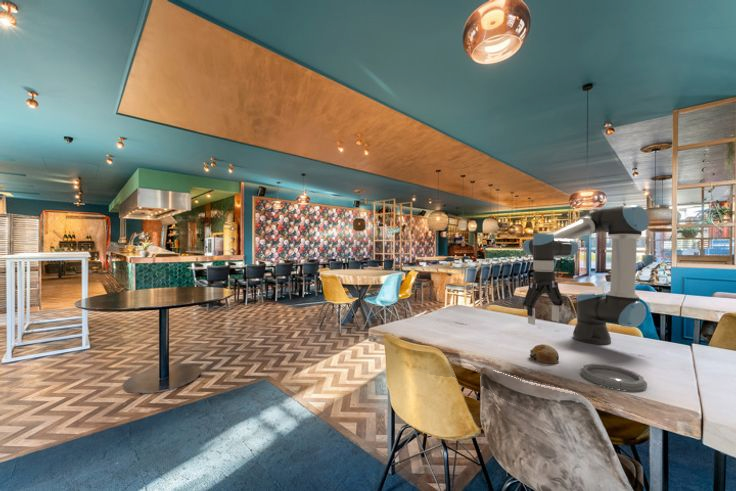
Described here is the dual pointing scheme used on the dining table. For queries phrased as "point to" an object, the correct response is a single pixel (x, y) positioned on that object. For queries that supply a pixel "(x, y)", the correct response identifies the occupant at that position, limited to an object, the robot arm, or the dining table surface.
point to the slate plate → (613, 377)
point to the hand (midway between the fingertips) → (543, 322)
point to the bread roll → (544, 354)
